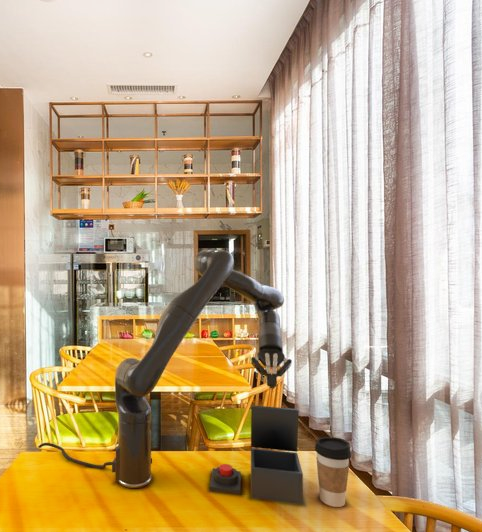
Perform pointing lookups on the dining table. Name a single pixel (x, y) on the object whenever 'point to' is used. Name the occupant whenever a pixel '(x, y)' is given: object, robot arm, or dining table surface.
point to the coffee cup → (332, 469)
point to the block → (226, 482)
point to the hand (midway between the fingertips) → (272, 387)
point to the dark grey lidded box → (276, 476)
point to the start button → (226, 470)
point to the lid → (274, 428)
